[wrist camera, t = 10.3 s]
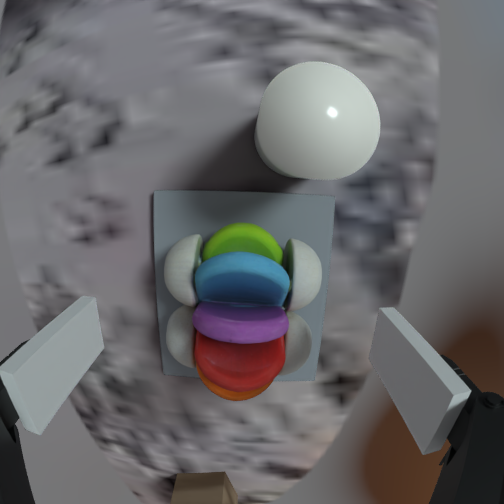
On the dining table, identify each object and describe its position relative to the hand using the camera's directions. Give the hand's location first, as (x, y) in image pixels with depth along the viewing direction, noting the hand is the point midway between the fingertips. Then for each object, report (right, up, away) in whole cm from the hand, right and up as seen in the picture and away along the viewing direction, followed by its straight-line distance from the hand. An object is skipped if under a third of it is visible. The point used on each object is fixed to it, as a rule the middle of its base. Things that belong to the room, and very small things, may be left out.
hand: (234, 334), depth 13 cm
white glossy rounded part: (+3, +11, +5) cm, 12 cm away
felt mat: (0, +1, +7) cm, 7 cm away
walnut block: (-4, -20, +12) cm, 24 cm away
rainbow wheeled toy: (0, +1, +6) cm, 7 cm away
